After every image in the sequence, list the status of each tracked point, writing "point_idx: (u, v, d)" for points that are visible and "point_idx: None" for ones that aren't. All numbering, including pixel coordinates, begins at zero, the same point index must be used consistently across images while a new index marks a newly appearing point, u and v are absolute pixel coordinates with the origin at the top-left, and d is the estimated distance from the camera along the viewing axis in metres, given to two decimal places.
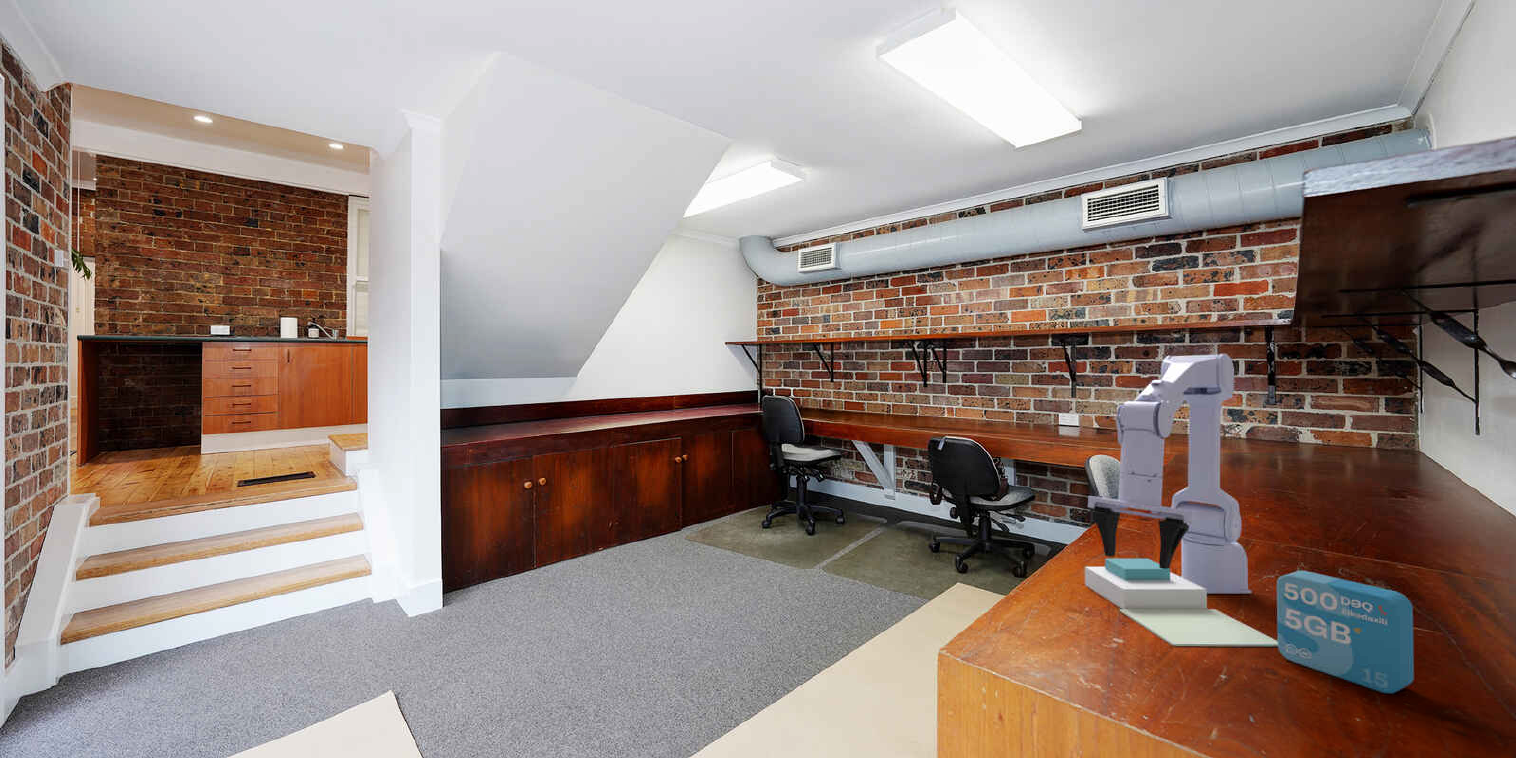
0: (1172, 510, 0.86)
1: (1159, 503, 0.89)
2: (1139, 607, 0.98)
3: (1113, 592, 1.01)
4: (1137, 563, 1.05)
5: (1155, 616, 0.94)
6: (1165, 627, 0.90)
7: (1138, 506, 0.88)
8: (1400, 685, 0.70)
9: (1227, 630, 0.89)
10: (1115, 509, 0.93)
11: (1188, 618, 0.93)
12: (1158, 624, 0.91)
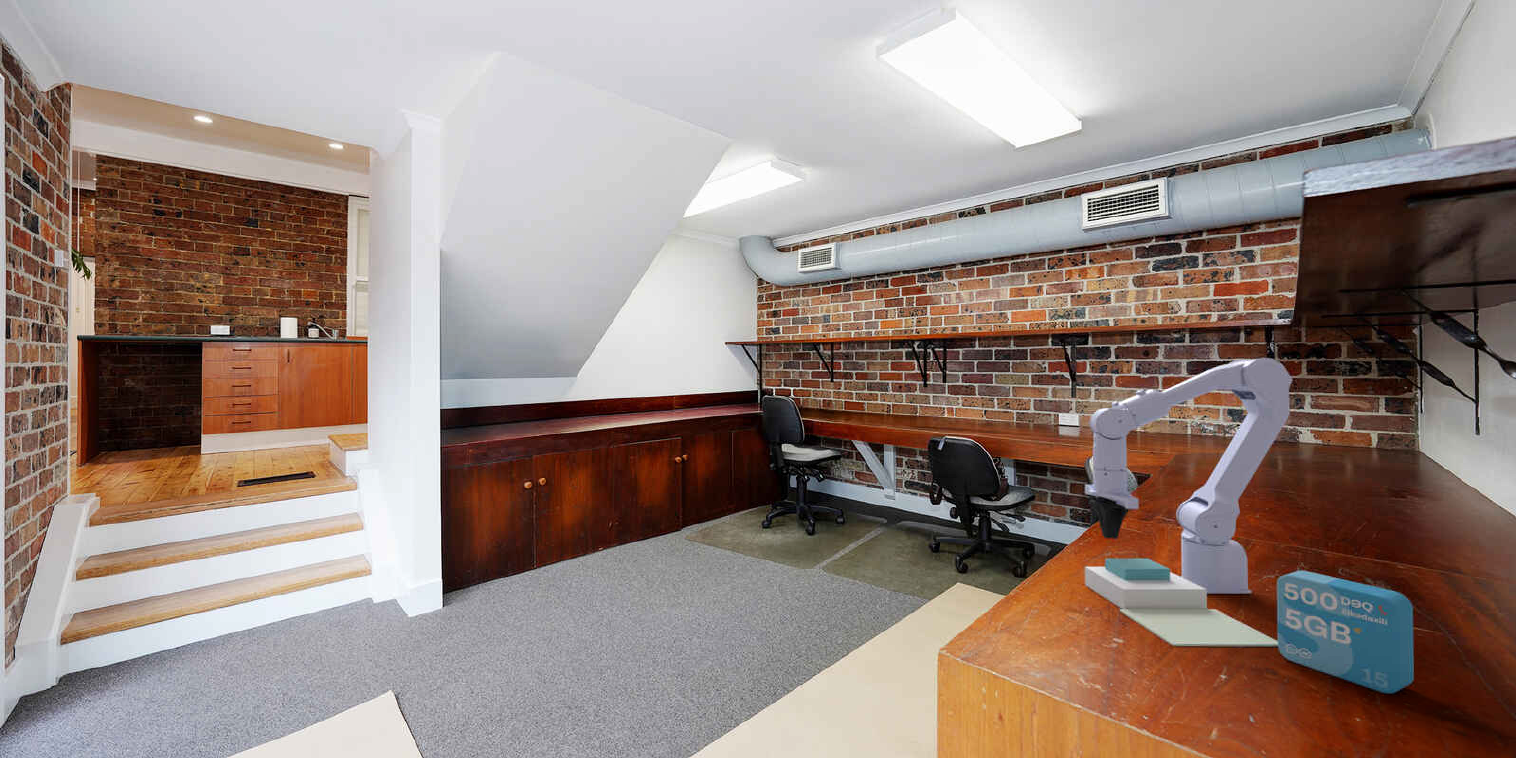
0: (1117, 497, 1.08)
1: (1117, 491, 1.10)
2: (1139, 607, 0.98)
3: (1113, 592, 1.01)
4: (1137, 563, 1.05)
5: (1155, 616, 0.94)
6: (1165, 627, 0.90)
7: (1096, 494, 1.12)
8: (1400, 685, 0.70)
9: (1227, 630, 0.89)
10: (1098, 495, 1.16)
11: (1188, 618, 0.93)
12: (1158, 624, 0.91)
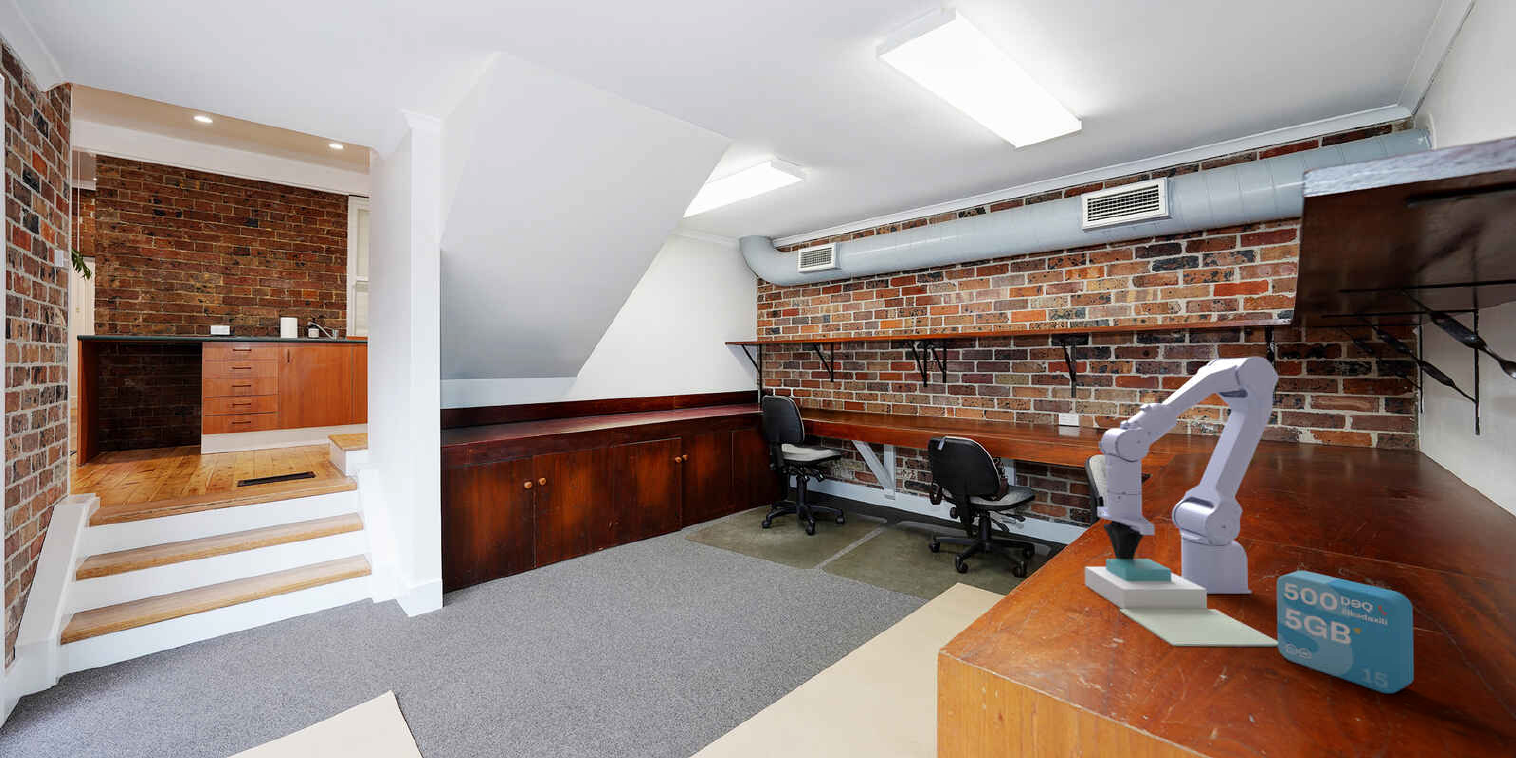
0: (1132, 522, 1.04)
1: (1132, 516, 1.06)
2: (1139, 607, 0.98)
3: (1113, 592, 1.01)
4: (1138, 563, 1.05)
5: (1155, 616, 0.94)
6: (1165, 627, 0.90)
7: (1109, 518, 1.08)
8: (1400, 685, 0.70)
9: (1227, 630, 0.89)
10: None
11: (1188, 618, 0.93)
12: (1158, 624, 0.91)
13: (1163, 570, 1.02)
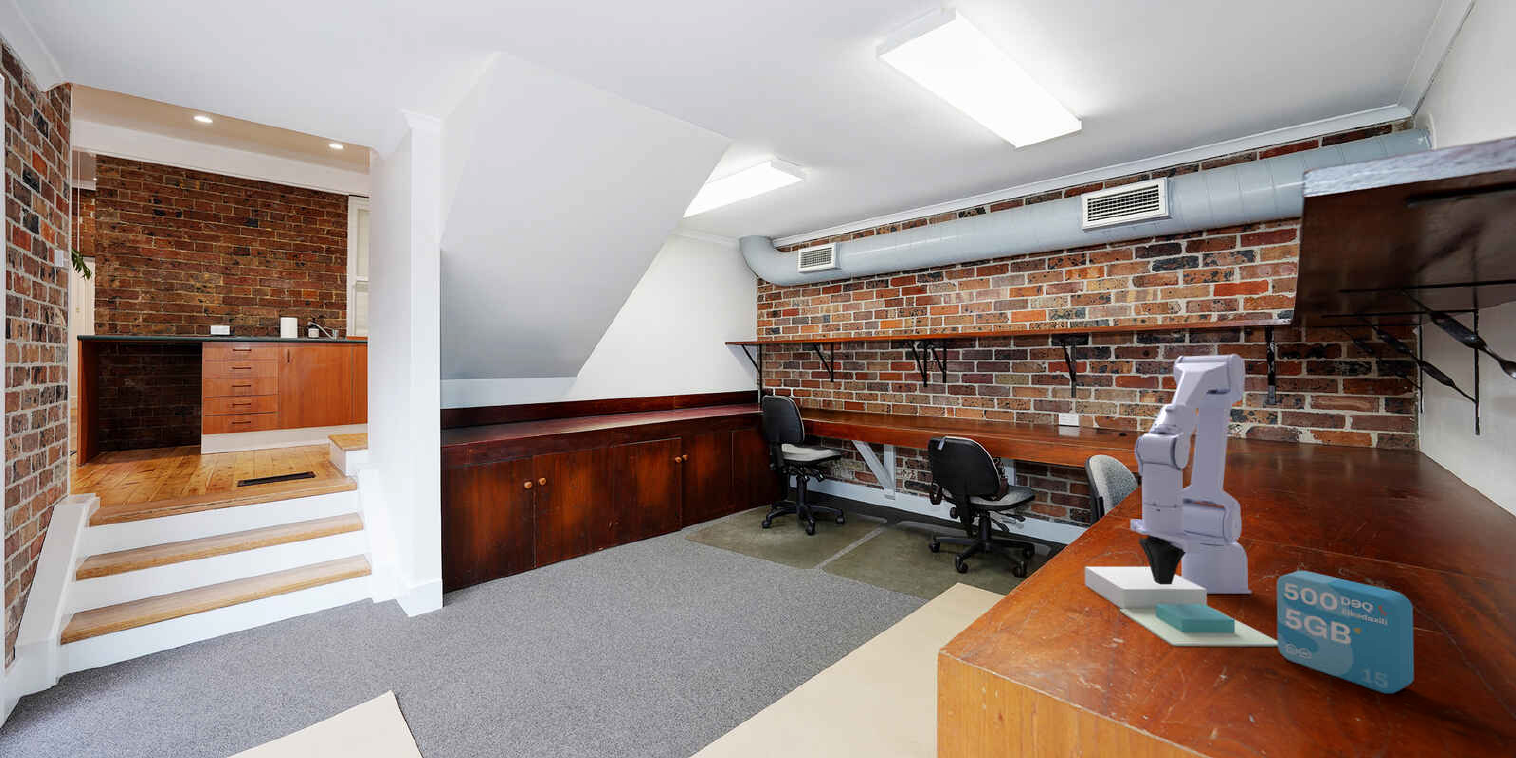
0: (1174, 539, 0.93)
1: (1172, 531, 0.95)
2: (1139, 607, 0.98)
3: (1113, 592, 1.01)
4: None
5: (1155, 616, 0.94)
6: (1165, 627, 0.90)
7: (1147, 533, 0.97)
8: (1400, 685, 0.70)
9: None
10: None
11: None
12: (1158, 624, 0.91)
13: None
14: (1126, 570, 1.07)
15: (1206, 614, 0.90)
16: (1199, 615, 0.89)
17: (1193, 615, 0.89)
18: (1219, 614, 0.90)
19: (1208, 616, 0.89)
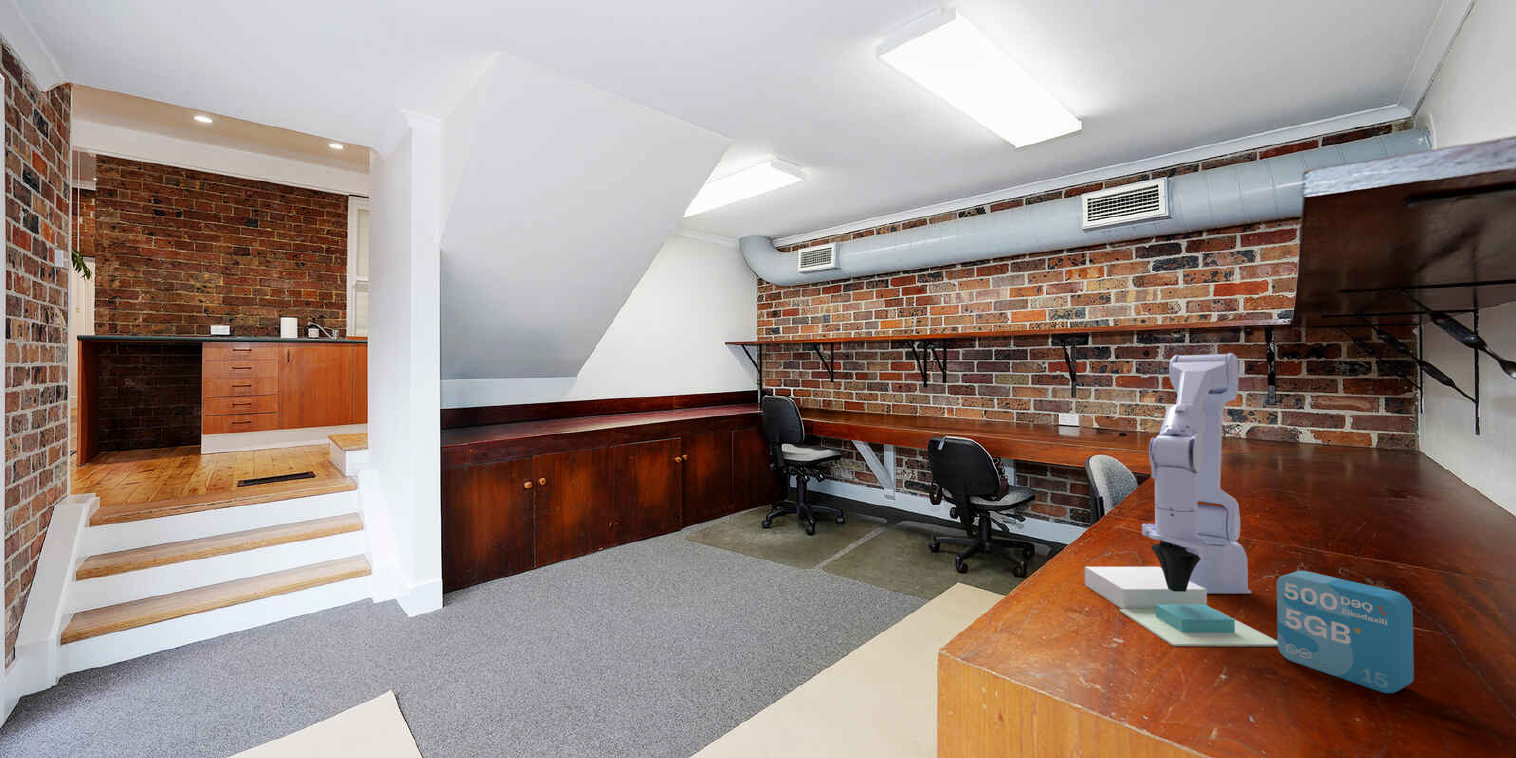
0: (1189, 544, 0.90)
1: (1187, 536, 0.92)
2: (1139, 607, 0.98)
3: (1113, 592, 1.01)
4: None
5: (1155, 616, 0.94)
6: (1165, 627, 0.90)
7: (1160, 538, 0.94)
8: (1400, 685, 0.70)
9: None
10: None
11: None
12: (1158, 624, 0.91)
13: None
14: (1126, 570, 1.07)
15: (1206, 614, 0.90)
16: (1199, 615, 0.89)
17: (1193, 615, 0.89)
18: (1219, 614, 0.90)
19: (1208, 616, 0.89)
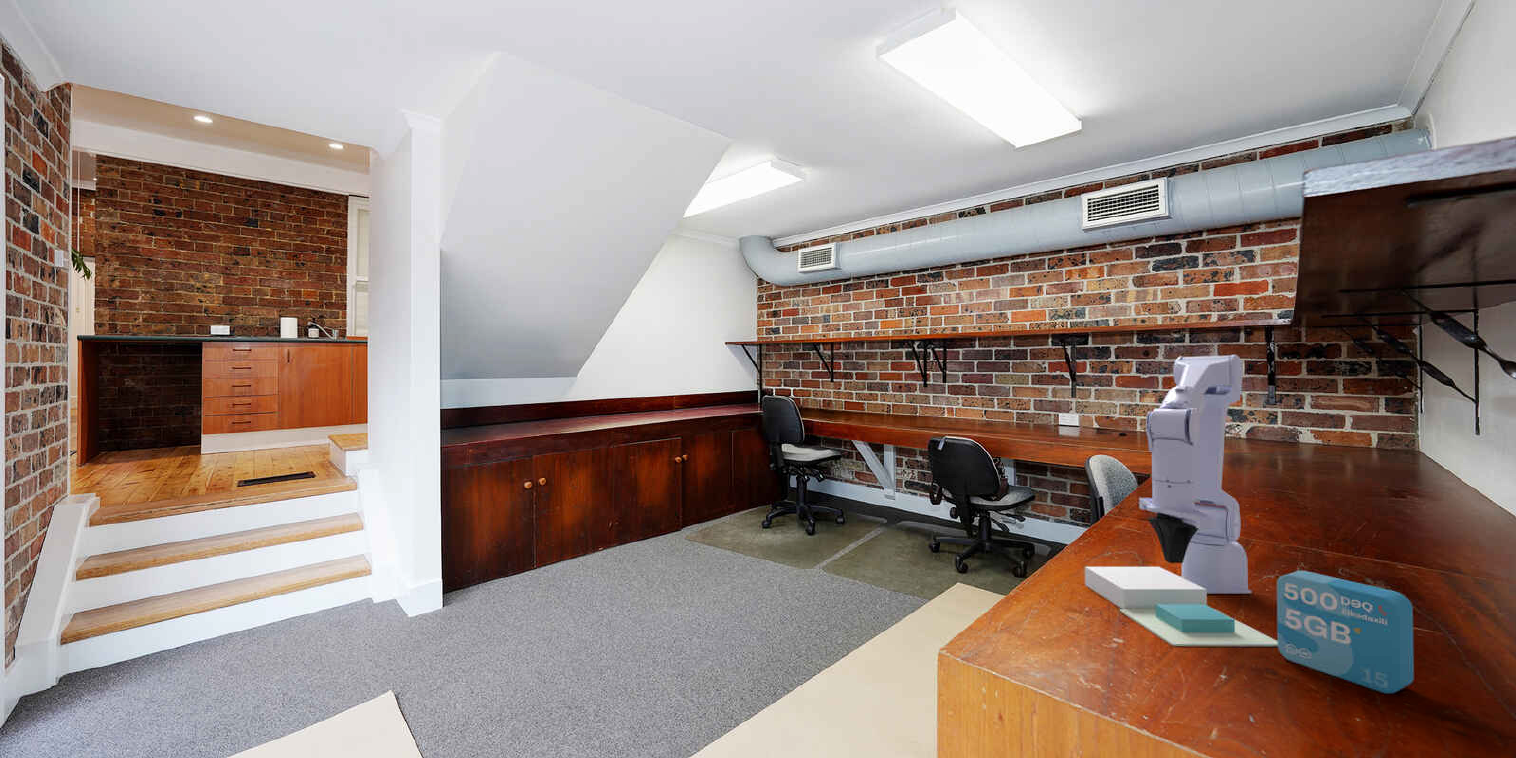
0: (1186, 515, 0.90)
1: (1184, 507, 0.93)
2: (1139, 607, 0.98)
3: (1113, 592, 1.01)
4: None
5: (1155, 616, 0.94)
6: (1165, 627, 0.90)
7: (1157, 510, 0.94)
8: (1400, 685, 0.70)
9: None
10: (1158, 511, 0.99)
11: None
12: (1158, 624, 0.91)
13: None
14: (1126, 570, 1.07)
15: (1206, 614, 0.90)
16: (1199, 615, 0.89)
17: (1193, 615, 0.89)
18: (1219, 614, 0.90)
19: (1208, 616, 0.89)
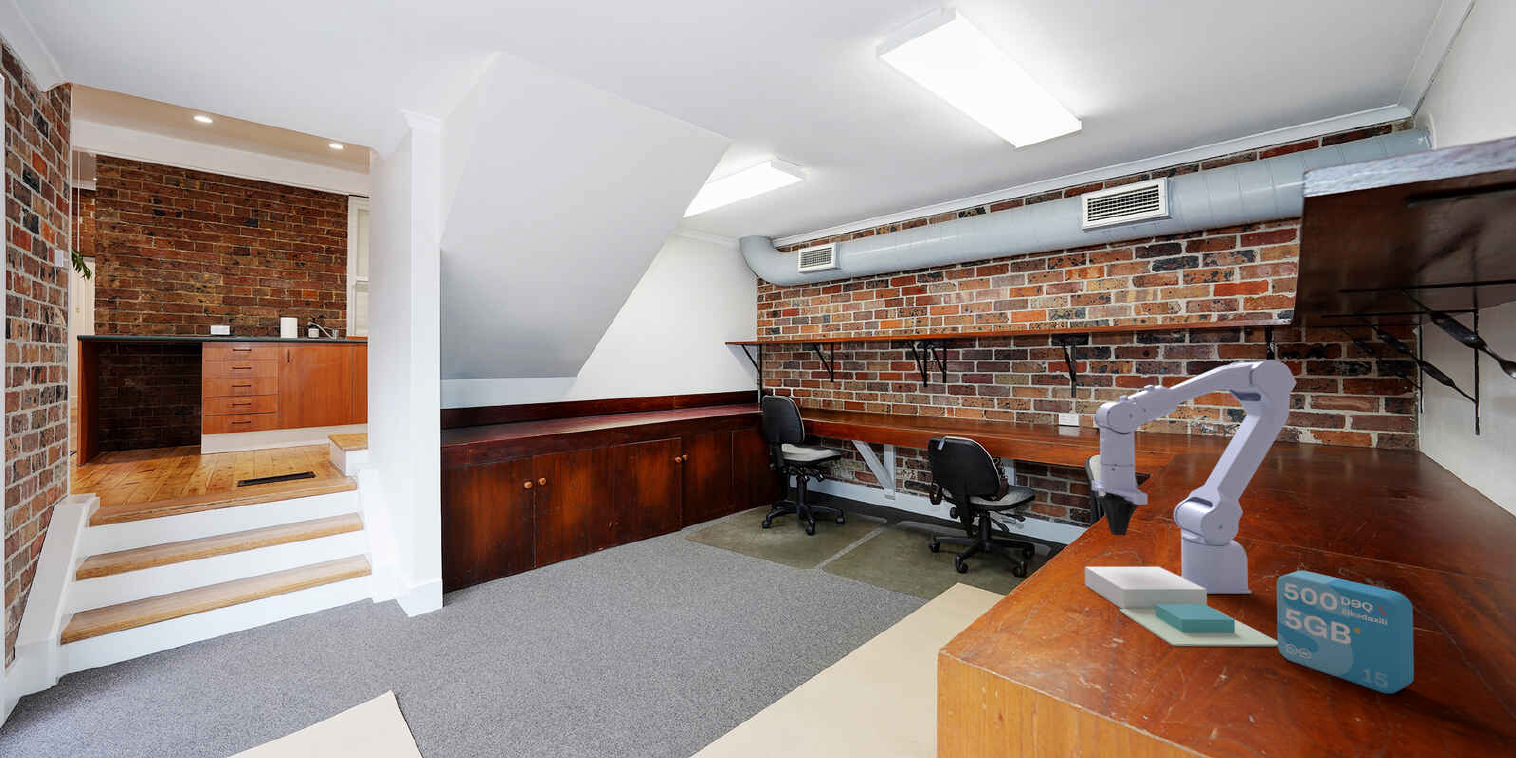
0: (1126, 493, 1.06)
1: (1125, 487, 1.08)
2: (1139, 607, 0.98)
3: (1113, 592, 1.01)
4: None
5: (1155, 616, 0.94)
6: (1165, 627, 0.90)
7: (1103, 490, 1.10)
8: (1400, 685, 0.70)
9: None
10: (1106, 491, 1.14)
11: None
12: (1158, 624, 0.91)
13: None
14: (1126, 570, 1.07)
15: (1206, 614, 0.90)
16: (1199, 615, 0.89)
17: (1193, 615, 0.89)
18: (1219, 614, 0.90)
19: (1208, 616, 0.89)
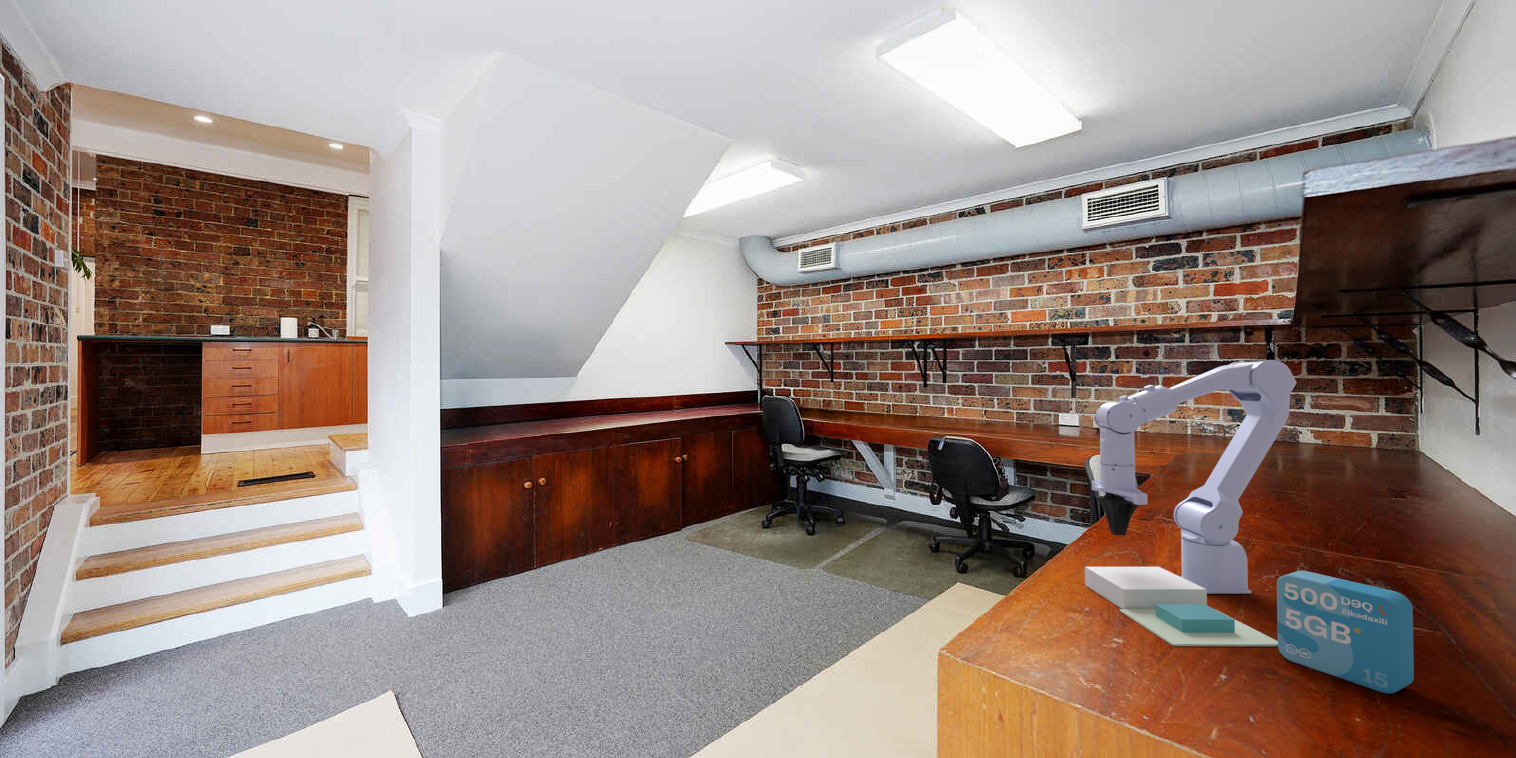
0: (1126, 493, 1.06)
1: (1125, 487, 1.08)
2: (1139, 607, 0.98)
3: (1113, 592, 1.01)
4: None
5: (1155, 616, 0.94)
6: (1165, 627, 0.90)
7: (1103, 490, 1.10)
8: (1400, 685, 0.70)
9: None
10: (1106, 491, 1.14)
11: None
12: (1158, 624, 0.91)
13: None
14: (1126, 570, 1.07)
15: (1206, 614, 0.90)
16: (1199, 615, 0.89)
17: (1193, 615, 0.89)
18: (1219, 614, 0.90)
19: (1208, 616, 0.89)
